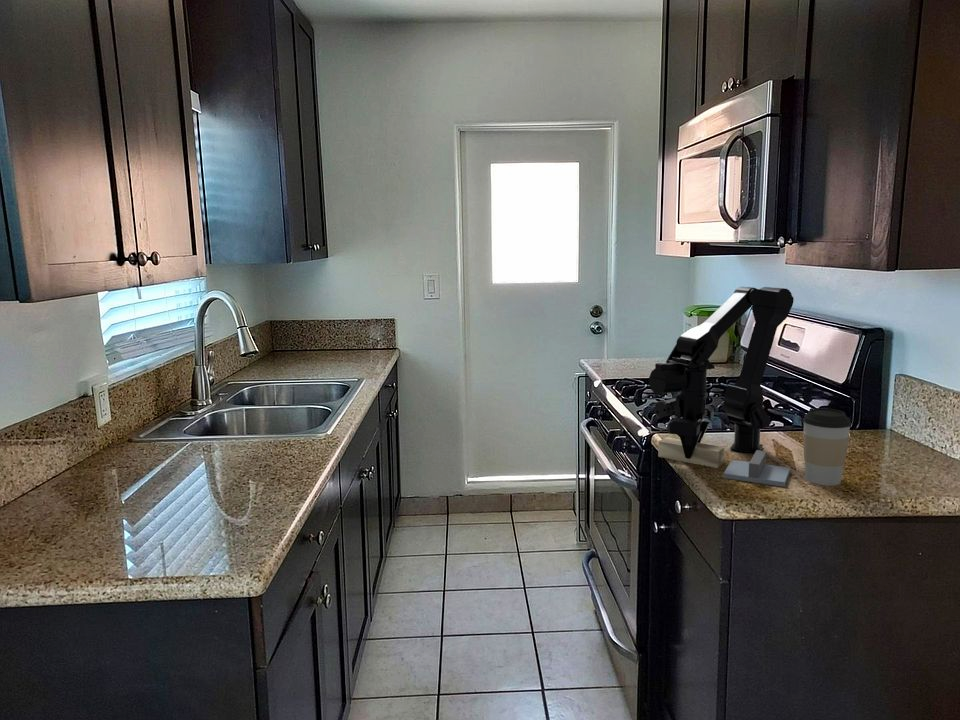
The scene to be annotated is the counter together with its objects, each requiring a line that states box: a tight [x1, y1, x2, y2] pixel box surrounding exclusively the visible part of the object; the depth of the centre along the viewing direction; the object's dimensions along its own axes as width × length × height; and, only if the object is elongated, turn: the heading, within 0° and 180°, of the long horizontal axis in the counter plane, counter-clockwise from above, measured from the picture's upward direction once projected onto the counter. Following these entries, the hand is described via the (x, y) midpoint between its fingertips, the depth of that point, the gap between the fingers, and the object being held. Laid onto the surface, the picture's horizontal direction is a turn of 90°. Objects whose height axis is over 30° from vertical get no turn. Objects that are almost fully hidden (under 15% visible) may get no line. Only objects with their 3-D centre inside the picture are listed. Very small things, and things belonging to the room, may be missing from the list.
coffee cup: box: [802, 407, 852, 487], centre depth 141 cm, size 9×9×15 cm
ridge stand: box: [722, 450, 791, 488], centre depth 146 cm, size 10×12×4 cm
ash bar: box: [657, 436, 726, 469], centre depth 157 cm, size 4×14×4 cm, turn 51°
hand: (690, 455), depth 157 cm, fingers closed on ash bar, 4 cm apart
